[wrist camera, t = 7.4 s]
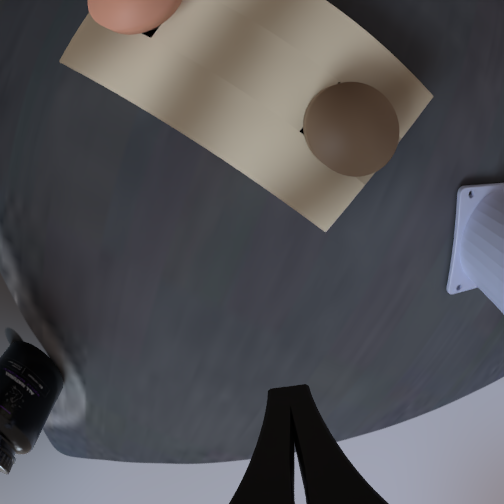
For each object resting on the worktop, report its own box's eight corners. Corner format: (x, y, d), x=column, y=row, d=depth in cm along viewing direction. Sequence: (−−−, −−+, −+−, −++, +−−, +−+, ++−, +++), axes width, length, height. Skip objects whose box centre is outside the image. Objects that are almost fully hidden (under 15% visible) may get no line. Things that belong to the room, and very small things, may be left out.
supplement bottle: (51, 345, 22) (-9, 453, 11) (74, 394, 25) (34, 491, 14) (0, 332, 22) (-60, 419, 11) (25, 380, 24) (-19, 462, 14)
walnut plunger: (364, 85, 14) (394, 81, 10) (372, 158, 15) (401, 172, 12) (289, 90, 14) (301, 85, 11) (300, 166, 16) (314, 182, 12)
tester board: (410, 96, 14) (433, 96, 12) (315, 215, 17) (325, 232, 15) (175, -57, 10) (165, -76, 8) (82, 65, 13) (59, 61, 11)
